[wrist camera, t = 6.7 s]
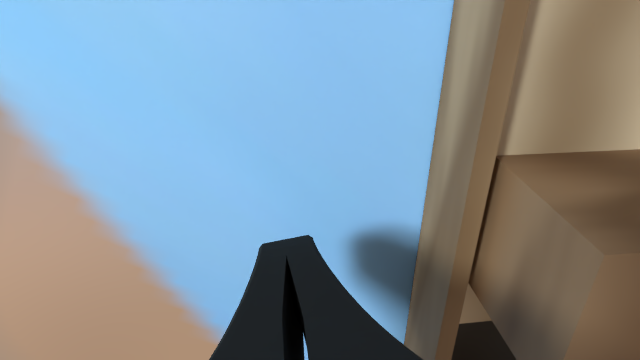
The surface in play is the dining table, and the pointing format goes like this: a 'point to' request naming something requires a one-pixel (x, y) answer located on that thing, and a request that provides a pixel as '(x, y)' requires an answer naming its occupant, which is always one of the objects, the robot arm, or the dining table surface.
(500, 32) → the board
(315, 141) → the dining table surface
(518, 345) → the walnut block
